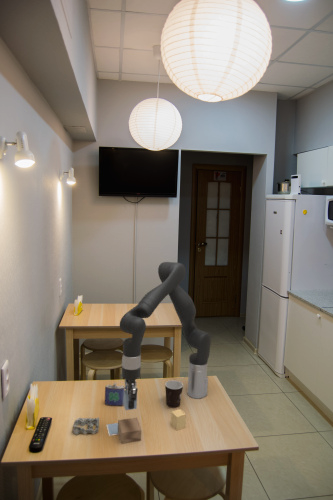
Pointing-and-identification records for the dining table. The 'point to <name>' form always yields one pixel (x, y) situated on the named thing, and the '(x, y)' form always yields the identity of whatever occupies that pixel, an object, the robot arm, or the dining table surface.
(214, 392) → the dining table surface
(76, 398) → the dining table surface
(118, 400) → the flask
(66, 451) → the dining table surface
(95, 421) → the egg carton
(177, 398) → the coffee mug
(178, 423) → the ochre block
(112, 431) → the tile
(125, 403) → the blue block
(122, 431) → the base block
